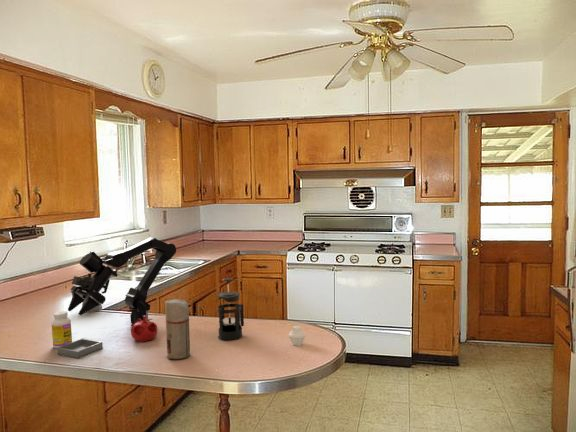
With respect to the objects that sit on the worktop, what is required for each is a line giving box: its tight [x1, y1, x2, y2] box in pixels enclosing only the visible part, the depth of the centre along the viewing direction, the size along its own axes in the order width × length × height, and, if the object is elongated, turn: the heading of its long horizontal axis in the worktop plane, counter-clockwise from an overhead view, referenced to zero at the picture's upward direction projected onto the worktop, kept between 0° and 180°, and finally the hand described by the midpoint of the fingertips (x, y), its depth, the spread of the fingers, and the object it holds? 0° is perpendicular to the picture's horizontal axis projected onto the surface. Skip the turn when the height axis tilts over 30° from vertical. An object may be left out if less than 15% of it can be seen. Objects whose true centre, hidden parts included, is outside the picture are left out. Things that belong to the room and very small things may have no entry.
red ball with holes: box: [130, 316, 158, 343], centre depth 184 cm, size 10×10×9 cm
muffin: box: [288, 325, 306, 347], centre depth 173 cm, size 6×6×7 cm
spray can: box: [164, 298, 191, 360], centre depth 165 cm, size 8×8×20 cm
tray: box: [56, 338, 104, 360], centre depth 173 cm, size 11×11×2 cm
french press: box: [216, 277, 245, 342], centre depth 183 cm, size 12×9×23 cm
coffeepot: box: [81, 272, 110, 313], centre depth 230 cm, size 15×9×18 cm, turn 113°
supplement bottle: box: [51, 310, 73, 349], centre depth 180 cm, size 7×7×13 cm
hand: (73, 312), depth 183 cm, fingers open, 9 cm apart
